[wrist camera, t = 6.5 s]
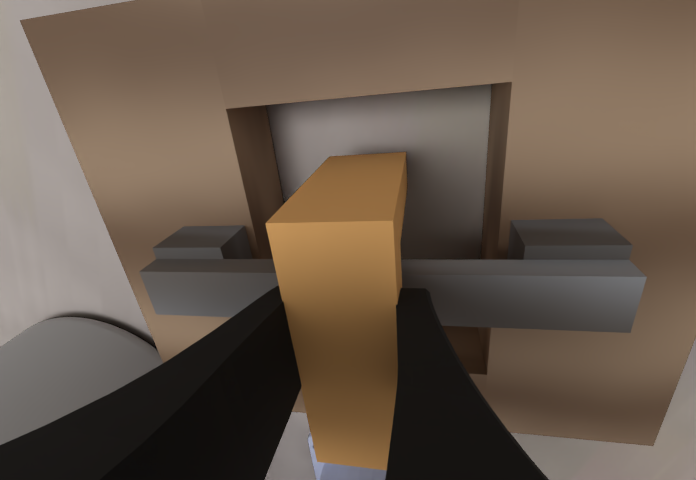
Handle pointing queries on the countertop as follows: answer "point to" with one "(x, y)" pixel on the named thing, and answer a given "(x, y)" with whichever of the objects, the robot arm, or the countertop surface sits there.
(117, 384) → the cylinder vase
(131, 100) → the hook board
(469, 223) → the countertop surface
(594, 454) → the countertop surface
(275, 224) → the orange c-shaped bracket
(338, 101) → the countertop surface
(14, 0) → the countertop surface
